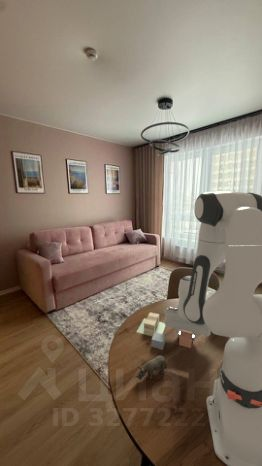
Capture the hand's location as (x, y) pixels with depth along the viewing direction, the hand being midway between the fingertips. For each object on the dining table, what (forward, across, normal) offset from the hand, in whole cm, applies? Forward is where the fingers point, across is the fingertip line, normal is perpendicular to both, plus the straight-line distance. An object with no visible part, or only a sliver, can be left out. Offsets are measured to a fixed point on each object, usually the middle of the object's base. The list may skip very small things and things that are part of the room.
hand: (186, 338), depth 93 cm
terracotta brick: (+2, 0, 0) cm, 2 cm away
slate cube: (+2, -11, -8) cm, 14 cm away
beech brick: (0, -17, +2) cm, 17 cm away
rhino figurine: (+2, -10, -23) cm, 25 cm away
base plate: (+2, -17, +2) cm, 17 cm away
